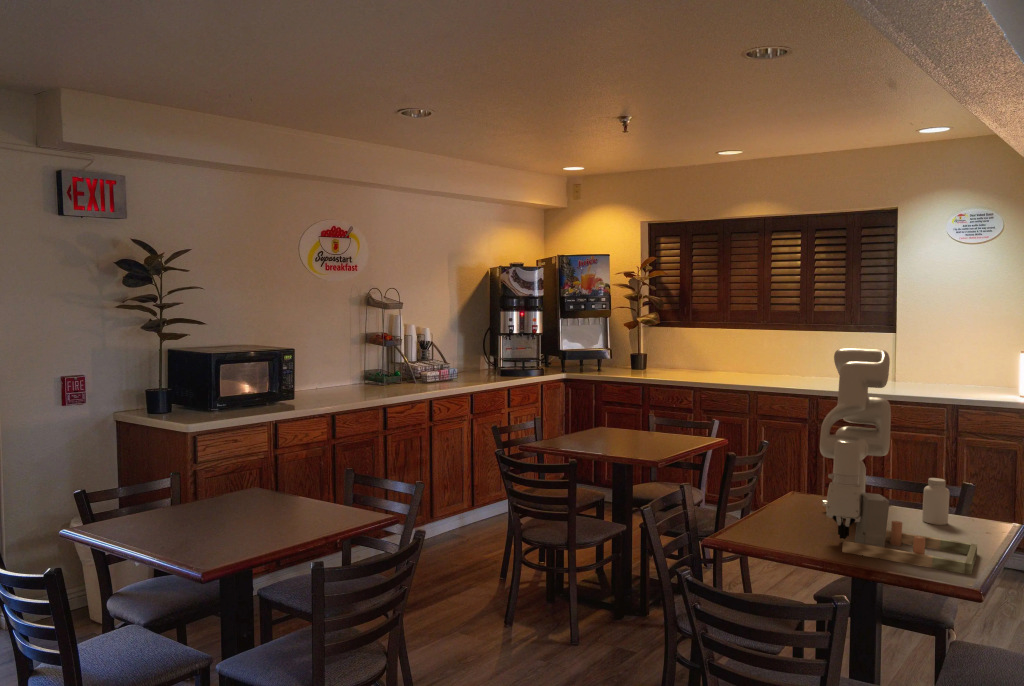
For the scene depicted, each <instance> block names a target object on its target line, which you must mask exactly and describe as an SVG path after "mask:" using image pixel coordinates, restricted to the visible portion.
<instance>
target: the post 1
mask: <svg viewBox="0 0 1024 686" xmlns="http://www.w3.org/2000/svg"><path fill="white" fill-rule="evenodd" d="M890 529H891V530H890V531H891V541H890V545H891V546H897V547H900V546H902V543H901V540H902V533H903V522H902V521H899V520H891V527H890Z"/></svg>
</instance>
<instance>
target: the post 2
mask: <svg viewBox="0 0 1024 686" xmlns="http://www.w3.org/2000/svg"><path fill="white" fill-rule="evenodd" d="M920 536H921V535H920ZM920 536H914V541H913V545H912V553H918V554H924V555H926V554H925V551H926V549H925V548H926V547H925V538H924V537H920Z"/></svg>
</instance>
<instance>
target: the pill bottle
mask: <svg viewBox="0 0 1024 686" xmlns="http://www.w3.org/2000/svg"><path fill="white" fill-rule="evenodd" d="M946 482H947V480H946V479H943V478H937V477H929V478H928V481H927V483H928V485H926V486H925V487H924V488H923V496H922V499H923V500H922V517H921V519H922V521H923V522H925V523H927V524H931V525H935V526H936V525H937V526H944V525H947V524H948V522H949V509H950V494H951V493H950V489H948V488H947V487H946V485H947V484H946Z"/></svg>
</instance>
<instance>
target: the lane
mask: <svg viewBox="0 0 1024 686" xmlns="http://www.w3.org/2000/svg"><path fill="white" fill-rule="evenodd" d="M914 536H920V537H924V538H925V548H928V549H933V550H940V551H946V552H952V553H959V554H964V555H966V559H965V560H958V559H952V558H947V557H941V556H935V555H929V554H925V555H924V554H918V553H913V551H905V550H900V549H895V548H890V547H889V548H887V547H884V548H883V547H877V546H871V545H866V544H860V543H856V542H855V541H854V542H853V541H852V542H851V541H848V540H843V541H842V545H841V546H842V547H841V548H842V549H841V551H842V553H846V554H853V555H858V556H862V555H863V557H868V558H874V559H875V558H876V559H879V558H880V560H884V561H885V560H886V561H892V562H897V563H902V564H909V565H912V566H913V565H914V566H919V567H925V568H930V569H937V570H940V571H941V570H942V571H947V572H952V573H953V572H954V573H958V574H965V575H970V576H971V575H972V574H973V570H974V567H975V562H976V559H977V555H978V544H975V543H970V542H963V541H957V540H951V539H950V540H949V539H945V538H939V537H934V536H932V537H931V536H926V535H925V536H924V535H918V534H913V533H906V532H902V540H901V544H903V545H910V546H913V541H914ZM885 542H891V530H887V529H886V538H885Z"/></svg>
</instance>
